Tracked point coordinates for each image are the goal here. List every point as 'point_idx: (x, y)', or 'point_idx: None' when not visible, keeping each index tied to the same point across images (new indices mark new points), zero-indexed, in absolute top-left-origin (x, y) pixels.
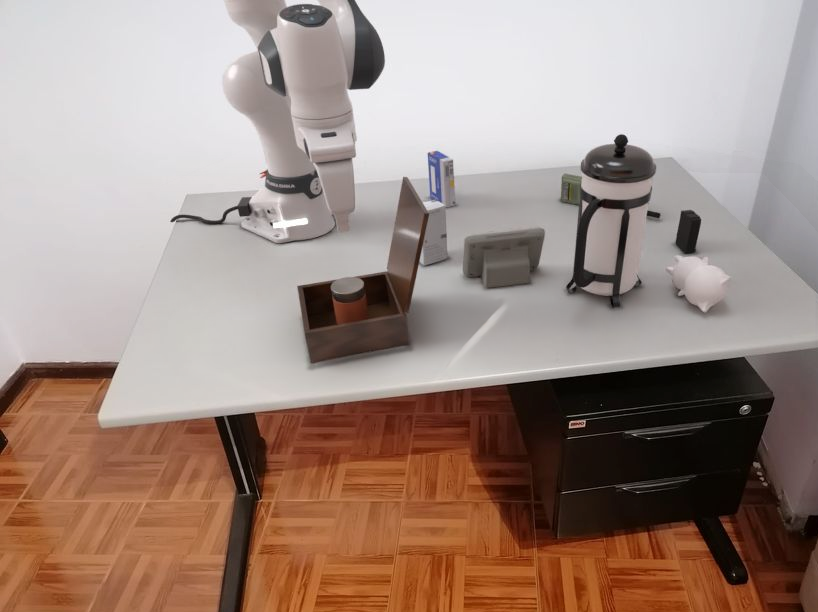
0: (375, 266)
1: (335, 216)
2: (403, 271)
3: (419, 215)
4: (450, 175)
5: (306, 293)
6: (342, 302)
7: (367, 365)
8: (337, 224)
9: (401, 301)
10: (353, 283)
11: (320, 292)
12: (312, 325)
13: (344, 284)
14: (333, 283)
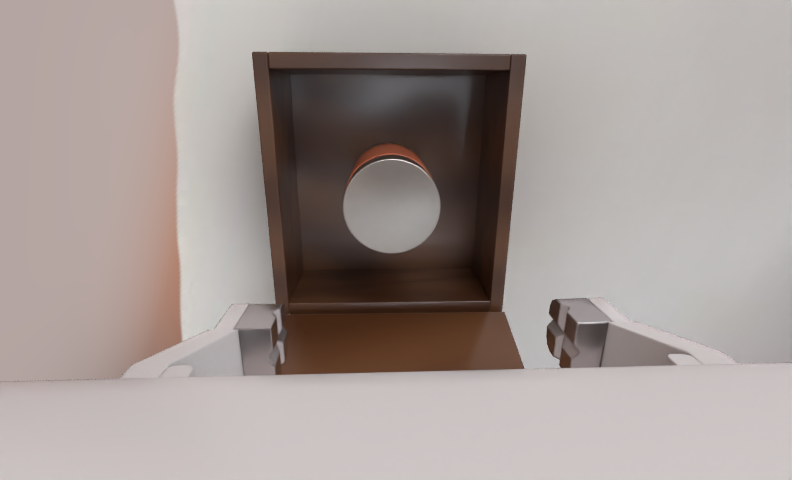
0: (654, 265)
1: (149, 358)
2: None
3: None
4: None
5: (503, 79)
6: (350, 178)
7: (258, 184)
8: (216, 325)
9: (312, 320)
10: (394, 226)
11: (498, 120)
12: (435, 81)
13: (397, 200)
14: (415, 169)
